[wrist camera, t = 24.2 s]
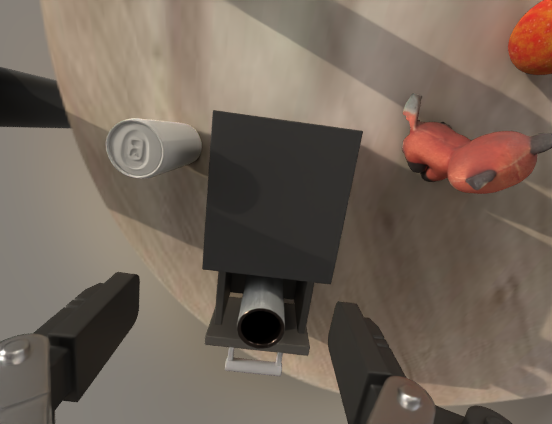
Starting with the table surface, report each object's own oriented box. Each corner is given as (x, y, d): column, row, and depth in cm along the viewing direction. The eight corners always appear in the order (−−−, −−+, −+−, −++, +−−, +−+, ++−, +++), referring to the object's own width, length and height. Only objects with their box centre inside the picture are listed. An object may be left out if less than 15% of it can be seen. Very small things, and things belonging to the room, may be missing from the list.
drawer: (295, 346, 40) (300, 395, 33) (215, 337, 40) (201, 385, 32) (318, 220, 35) (330, 243, 28) (226, 208, 35) (213, 229, 27)
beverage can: (160, 158, 34) (101, 171, 22) (166, 118, 33) (106, 110, 21) (199, 168, 34) (161, 186, 23) (206, 128, 33) (169, 126, 21)
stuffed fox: (426, 77, 32) (513, 45, 20) (478, 152, 34) (583, 162, 22) (372, 124, 33) (425, 119, 21) (426, 193, 35) (499, 222, 24)
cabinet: (316, 246, 37) (331, 284, 28) (221, 234, 37) (202, 269, 27) (338, 131, 33) (363, 131, 24) (230, 116, 33) (212, 110, 23)
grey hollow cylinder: (247, 258, 35) (237, 307, 25) (283, 260, 35) (286, 309, 25) (246, 290, 37) (236, 348, 27) (281, 291, 37) (283, 350, 27)
